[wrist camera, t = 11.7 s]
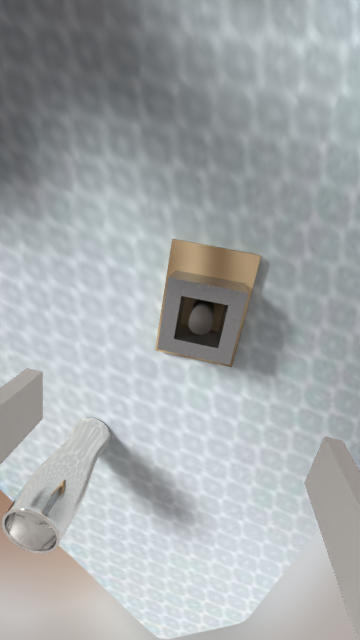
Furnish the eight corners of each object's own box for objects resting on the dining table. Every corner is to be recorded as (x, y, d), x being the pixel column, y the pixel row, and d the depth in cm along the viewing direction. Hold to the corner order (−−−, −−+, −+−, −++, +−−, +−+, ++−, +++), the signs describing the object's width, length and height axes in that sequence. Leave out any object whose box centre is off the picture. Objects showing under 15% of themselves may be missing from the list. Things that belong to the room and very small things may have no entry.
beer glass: (118, 450, 43) (68, 557, 29) (78, 451, 45) (12, 554, 31) (107, 413, 41) (49, 508, 27) (66, 415, 43) (-11, 507, 29)
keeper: (157, 346, 37) (142, 373, 30) (174, 239, 32) (161, 241, 25) (231, 362, 36) (233, 393, 29) (259, 254, 31) (270, 262, 25)
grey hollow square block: (165, 332, 35) (157, 349, 30) (175, 270, 32) (168, 277, 27) (228, 346, 34) (229, 364, 29) (244, 283, 31) (248, 292, 27)
